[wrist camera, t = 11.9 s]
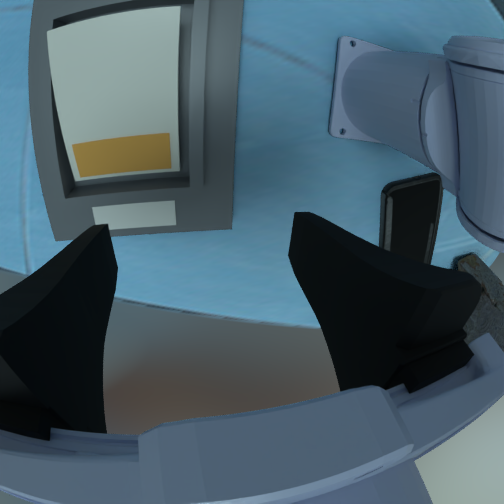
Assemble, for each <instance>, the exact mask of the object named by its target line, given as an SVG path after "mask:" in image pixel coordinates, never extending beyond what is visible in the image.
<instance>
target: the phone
mask: <svg viewBox="0 0 504 504" xmlns="http://www.w3.org/2000/svg"><path fill="white" fill-rule="evenodd" d="M430 174H431V175H430ZM416 178H418V179H416ZM443 189H444V188H443V187H442V179H441V177H440V175H438V174H437V173H428V174H424V175H420V176H415V177H411V178H407V179H403V180H399V181H395V182H391V183H388V184H387V185H386V186H385V187H384V188H383V190H382V192H381V208H380V233H379V247H381V248H383V249H385V250H388V251H390V252H393V253H395V254H398V255H401V256H403V257H406V258H409V259H412V260H415V261H419V262H422V263H425V264H429V265H430V264H431V260H432V255H433V251H434V246H435V241H436V236H437V230H438V224H439V218H440V212H441V205H442V197H443Z"/></svg>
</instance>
